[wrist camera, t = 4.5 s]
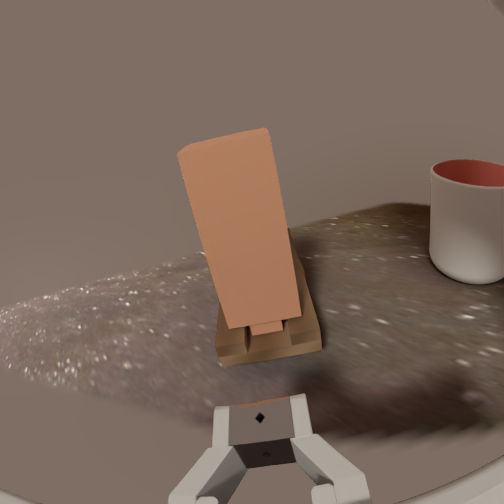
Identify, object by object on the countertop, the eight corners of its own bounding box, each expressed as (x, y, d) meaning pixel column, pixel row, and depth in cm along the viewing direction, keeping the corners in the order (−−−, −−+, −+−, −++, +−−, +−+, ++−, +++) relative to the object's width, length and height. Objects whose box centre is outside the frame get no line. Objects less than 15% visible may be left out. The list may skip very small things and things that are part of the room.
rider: (296, 299, 25) (264, 127, 19) (303, 328, 22) (269, 132, 16) (234, 311, 25) (187, 144, 20) (232, 341, 22) (176, 153, 16)
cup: (413, 251, 33) (412, 164, 29) (477, 235, 33) (481, 156, 28) (459, 301, 24) (471, 193, 20) (528, 275, 24) (542, 181, 19)
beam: (295, 259, 37) (290, 227, 36) (326, 368, 22) (322, 328, 20) (233, 271, 38) (225, 240, 36) (227, 384, 23) (212, 347, 21)
